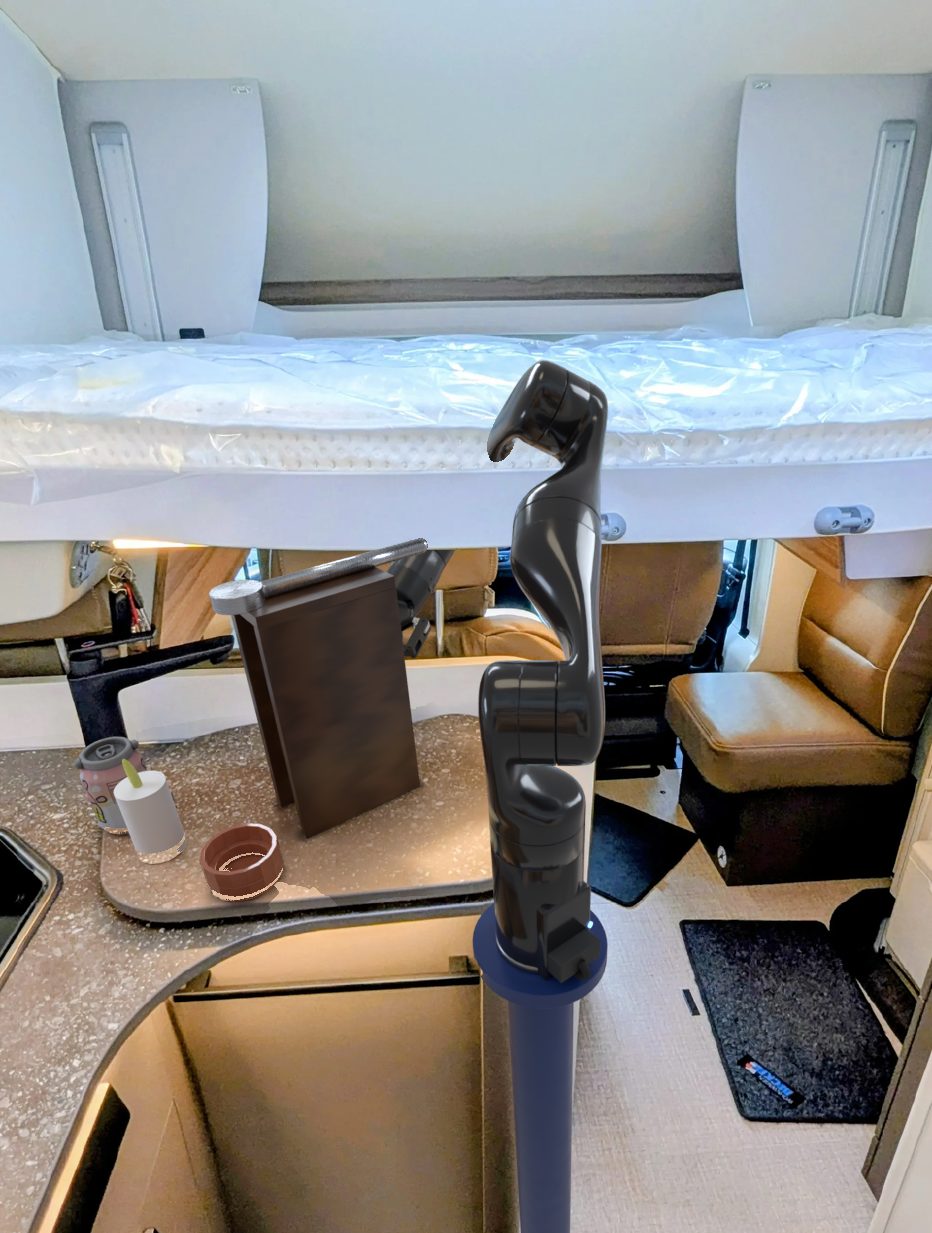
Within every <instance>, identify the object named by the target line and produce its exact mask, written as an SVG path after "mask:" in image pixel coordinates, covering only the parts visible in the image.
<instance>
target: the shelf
mask: <svg viewBox="0 0 932 1233" xmlns="http://www.w3.org/2000/svg"><path fill="white" fill-rule="evenodd" d="M265 599H266V602H265V604H264V605H263V606H261V607H260V608H258V609H256V610H254V611H251V612H247V613H243V614H237V615H230V617H231V621H232V625H233V630H234V634H235V637H236V640H237V646H238V648H239V652H240V657H241V661H242V665H243V669H244V673H245V677H246V681H247V685H248V689H249V692H250V698H251V702H252V705H253V708H254V709H253V710H254V713H255V717H256V721H257V725H258V729H259V733H260V738H261V741H262V745H263V749H264V752H265V758H266V761H267V764H268V768H269V769H268V770H269V773H270V777H271V782H272V785H273V788H274V793H275V797H276V801H277V805H279V806H280V808H281V809H283V808H285V807H288V806H290V805H292V804H294V803H295V808H296V813H297V817H298V821H299V825H300V829H301V834H302V835H303V837H304V838H305V839H306V840H308V839H311V838H312V837H314V836H317V835H319V834H321V833H323V832H325V831H328V830H329V829H332V828H334V827H336V826H338V825H340V824H342V823H344V822H347V821H349V820H351V819H353V818H356V817H357V816H359V815H361V814H363V813H367V812H368V811H370V810H372V809H375V808H376V807H379V806H381V805H383V804H385V803H387V802H389V801H392V800H395V799H396V798H398V797H400V796H402V795H405V794H407V793H409V792H411V791H413V790H415V789H417V788H420V787H421V781H420V774H419V773H420V772H419V765H418V756H417V749H416V740H415V732H414V724H413V715H412V708H411V699H410V692H409V691H410V690H409V683H408V676H407V675H408V674H407V666H406V658H405V657H404V649H403V641H402V633H401V625H400V616H399V608H398V600H397V592H396V584H395V576H393V575H391V574H389V573H387V572H386V571H385V570H383V569H381V568H378V566H376V567H373V568H369V569H366V570H362V571H359V572H355V573H352V574H348V575H345V576H341V577H338V578H335V579H331V580H328V581H324V582H321V583H317V584H314V585H310V586H307V587H303V588H300V589H296V590H293V591H289V592H286V593H282V594H279V595H275V596H272V597H268V598H265Z"/></svg>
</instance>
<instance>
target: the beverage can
mask: <svg viewBox="0 0 932 1233" xmlns="http://www.w3.org/2000/svg"><path fill="white" fill-rule="evenodd" d="M139 745H140V742H139V740H136V739H135V738H134V739H132V740H130V739H129V738H127V737H124V736H109V737H105V738H102V739H98V740H97V741H93V742H92V743H90V744H89V745H87V746H86V747H84V748H83V749H81V752H80V753H79V755H78V758H77V759H74V762H73V764H72V765H73V767H74V768H76V770H79V779H80V782H81V784H82V786H83V789H84V791H85V794H86V796H87V798H88V801H89V803H90V805H91V809H92V810H93V813H94V815H95V817H96V820H97V822H98V825H99V827H100V828H101V829H102V830H103V829H104V828H105V827H111V828H126V824H125V821H124V819H123V816H122V814H121V811H120V809H119V806H118V804H117V801H116V798H115V796H114V793H113V792H114V789H115V787H116V786H117V784H118V783H120V782H121V781H122V780H123V779H125V778H127V775H126V772H125V770H124V767H123V764H122V759H126V760H127V761H129V762H130V763H131V765H132V766H133V767H134V768H135V770H136V771H137V773H139V772H143V771H149V770H148V768H147V764H146V762H145V759H144V757H143V754H142V753H141V752H140V750H138V749H139ZM103 831H104V832H105V830H103ZM120 834H121V832H120ZM122 834H127V835H130V834H129V832H128V831H126V833H125V832H122Z"/></svg>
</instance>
